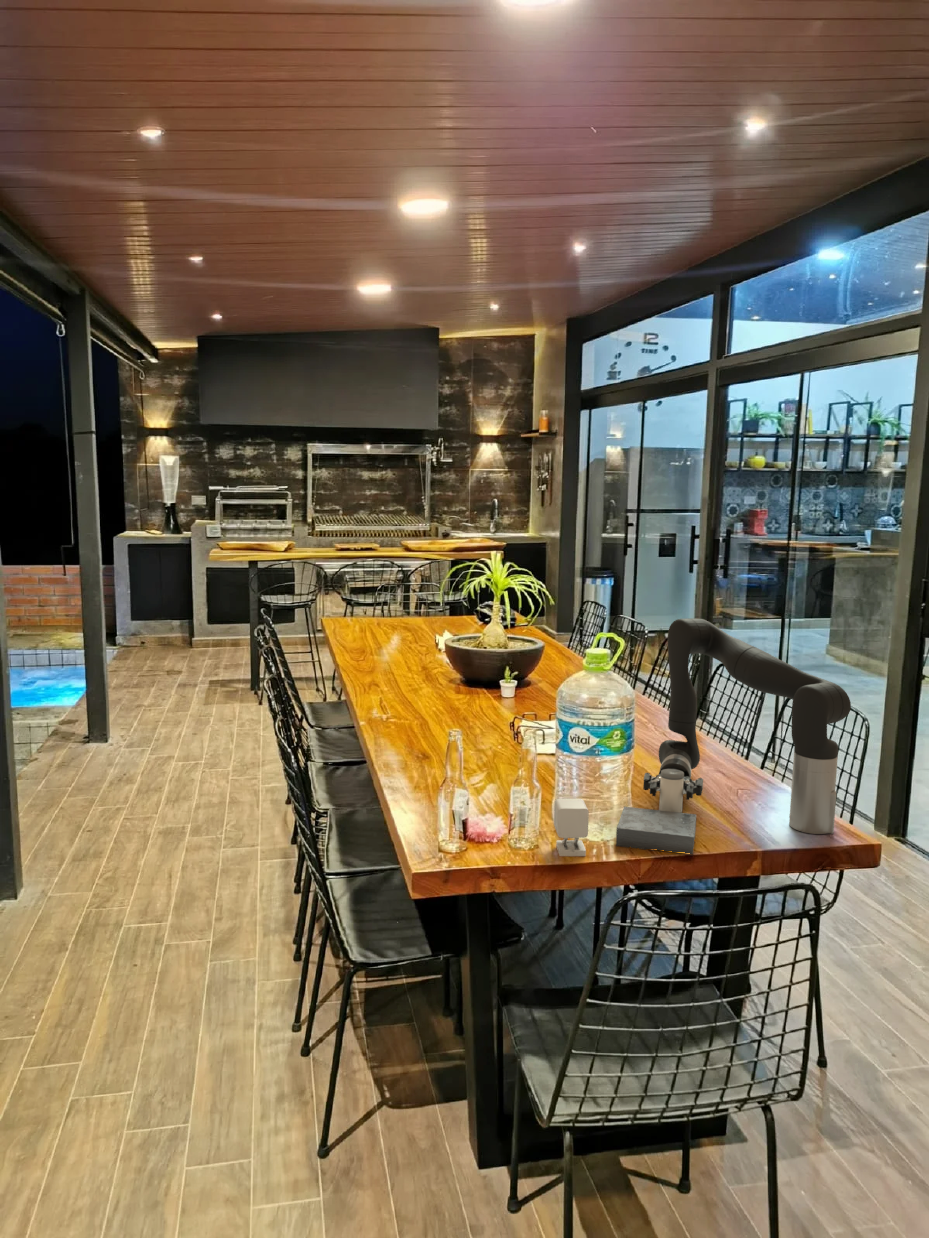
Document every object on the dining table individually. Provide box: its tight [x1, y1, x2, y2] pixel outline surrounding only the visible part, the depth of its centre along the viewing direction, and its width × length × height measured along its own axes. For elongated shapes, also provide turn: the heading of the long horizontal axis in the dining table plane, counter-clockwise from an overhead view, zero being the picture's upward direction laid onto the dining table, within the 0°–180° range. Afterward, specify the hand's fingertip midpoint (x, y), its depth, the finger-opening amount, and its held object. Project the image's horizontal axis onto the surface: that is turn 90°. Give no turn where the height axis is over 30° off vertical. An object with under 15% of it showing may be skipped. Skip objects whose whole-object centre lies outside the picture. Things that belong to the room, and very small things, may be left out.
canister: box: [658, 769, 684, 813], centre depth 214 cm, size 5×5×11 cm
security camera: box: [553, 798, 590, 857], centre depth 195 cm, size 6×7×10 cm
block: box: [615, 806, 697, 855], centre depth 202 cm, size 16×14×4 cm
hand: (670, 793), depth 212 cm, fingers open, 7 cm apart
